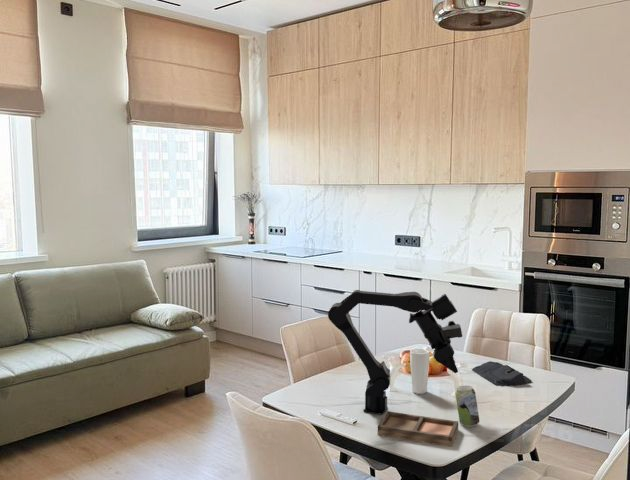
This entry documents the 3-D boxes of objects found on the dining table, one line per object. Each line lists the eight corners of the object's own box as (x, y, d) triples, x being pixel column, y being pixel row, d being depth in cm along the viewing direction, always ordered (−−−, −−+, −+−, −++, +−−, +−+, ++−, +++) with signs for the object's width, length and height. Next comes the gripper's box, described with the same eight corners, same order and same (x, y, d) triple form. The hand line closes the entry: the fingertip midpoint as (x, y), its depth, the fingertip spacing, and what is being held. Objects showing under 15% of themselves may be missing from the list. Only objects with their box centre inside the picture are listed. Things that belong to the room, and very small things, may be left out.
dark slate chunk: (502, 367, 237) (502, 355, 237) (535, 385, 216) (535, 372, 216) (468, 370, 234) (468, 359, 233) (498, 389, 212) (498, 376, 212)
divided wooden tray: (377, 434, 174) (377, 425, 173) (388, 419, 185) (388, 411, 184) (451, 446, 165) (451, 437, 165) (458, 430, 176) (458, 421, 176)
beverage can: (480, 429, 176) (480, 391, 175) (455, 428, 178) (455, 390, 177) (478, 421, 183) (479, 384, 181) (454, 419, 184) (455, 383, 183)
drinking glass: (424, 396, 204) (425, 355, 203) (407, 392, 208) (407, 352, 206) (431, 390, 210) (432, 350, 209) (414, 387, 214) (414, 347, 212)
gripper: (454, 321, 176) (481, 364, 177) (449, 308, 195) (473, 347, 195) (422, 339, 178) (449, 382, 179) (420, 324, 197) (444, 363, 197)
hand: (455, 367), depth 187 cm, fingers open, 9 cm apart
